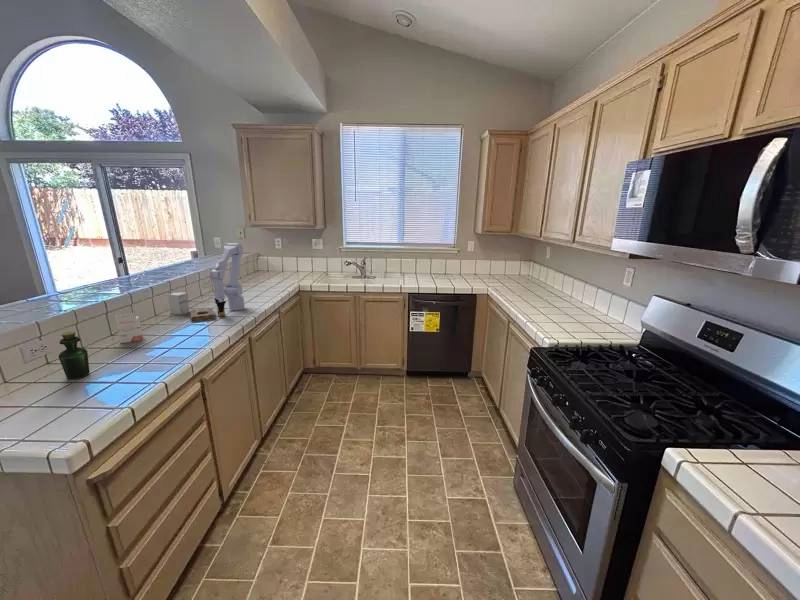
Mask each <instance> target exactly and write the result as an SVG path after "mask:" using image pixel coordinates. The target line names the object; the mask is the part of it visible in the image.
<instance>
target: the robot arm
mask: <svg viewBox="0 0 800 600" xmlns="http://www.w3.org/2000/svg"><path fill="white" fill-rule="evenodd" d="M243 252H244V247H243V244H241V243H240V242H239V243H235V242H225V243H224V244H223V253H222V256H221V259H220V260H218V261H217V262H216V264H215V267H214V268H213V269H212V270H210V271H209V275H208V276H209V278H210V280H211V283H212V288H213V296H211V298H212V299H213V300H214V302H215V304H216V307H217V306H218V309H219V312H224V308H225V305H226V302H227V301H228V307H227V309H228V311H229V312H232V311H234V310H235V311H243V309H244V310H245V299H244V296H243V295H242V294H243V285H242V284H241V283H240V282H239V278H240V277H239V276H240V269H241V268H240V267H241V259H242V257H243ZM230 258H231V265H230V274H229V275H230V276H229V281H228V282H226V283H225V285H224V278H226V269H227V268H228V261H229V260H230ZM225 298H227V301H226V300H225ZM235 311H234V312H235Z"/></svg>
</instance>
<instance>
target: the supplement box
mask: <svg viewBox="0 0 800 600" xmlns="http://www.w3.org/2000/svg"><path fill="white" fill-rule="evenodd" d="M167 298H168V303H169V309H170V314H171V313H173V314H172V315H178V314H181V315H183V314H186V313H189V312H190V307H189V299H188V298H189V296H188V293H187V292H182V291H181V292H178V291H177V292H174V293H170V294H168V295H167ZM188 311H189V312H188Z"/></svg>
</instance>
